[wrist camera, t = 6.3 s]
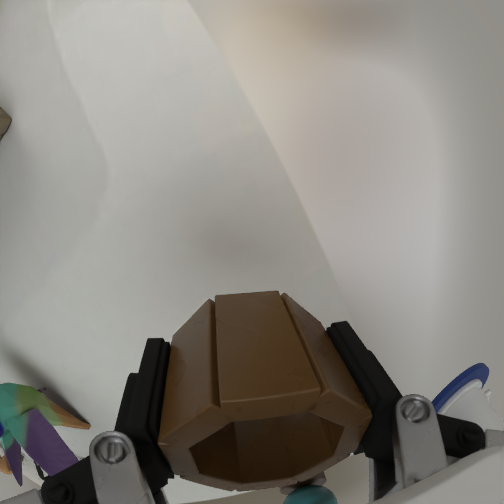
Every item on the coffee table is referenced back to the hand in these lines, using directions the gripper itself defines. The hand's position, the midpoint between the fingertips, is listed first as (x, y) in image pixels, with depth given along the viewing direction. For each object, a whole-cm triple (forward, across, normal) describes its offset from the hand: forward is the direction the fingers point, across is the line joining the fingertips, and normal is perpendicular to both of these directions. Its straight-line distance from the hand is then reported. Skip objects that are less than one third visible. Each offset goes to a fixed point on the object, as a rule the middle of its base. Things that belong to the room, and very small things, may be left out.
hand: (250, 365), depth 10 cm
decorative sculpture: (+12, +24, +14) cm, 30 cm away
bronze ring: (+1, 0, 0) cm, 1 cm away
